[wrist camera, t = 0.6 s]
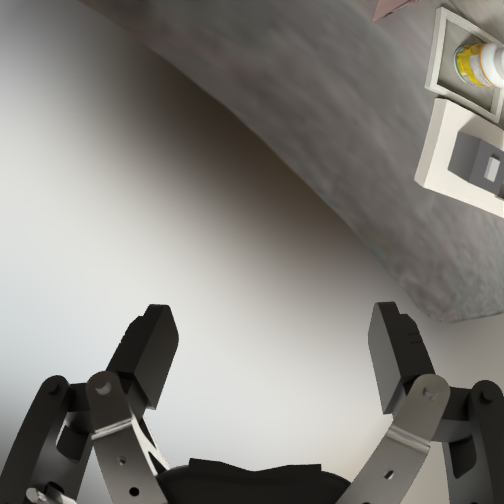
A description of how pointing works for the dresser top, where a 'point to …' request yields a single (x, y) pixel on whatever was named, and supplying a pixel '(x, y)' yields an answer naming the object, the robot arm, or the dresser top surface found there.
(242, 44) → the dresser top surface
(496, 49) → the supplement bottle
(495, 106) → the tray
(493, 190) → the white holder base
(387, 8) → the greeting card
